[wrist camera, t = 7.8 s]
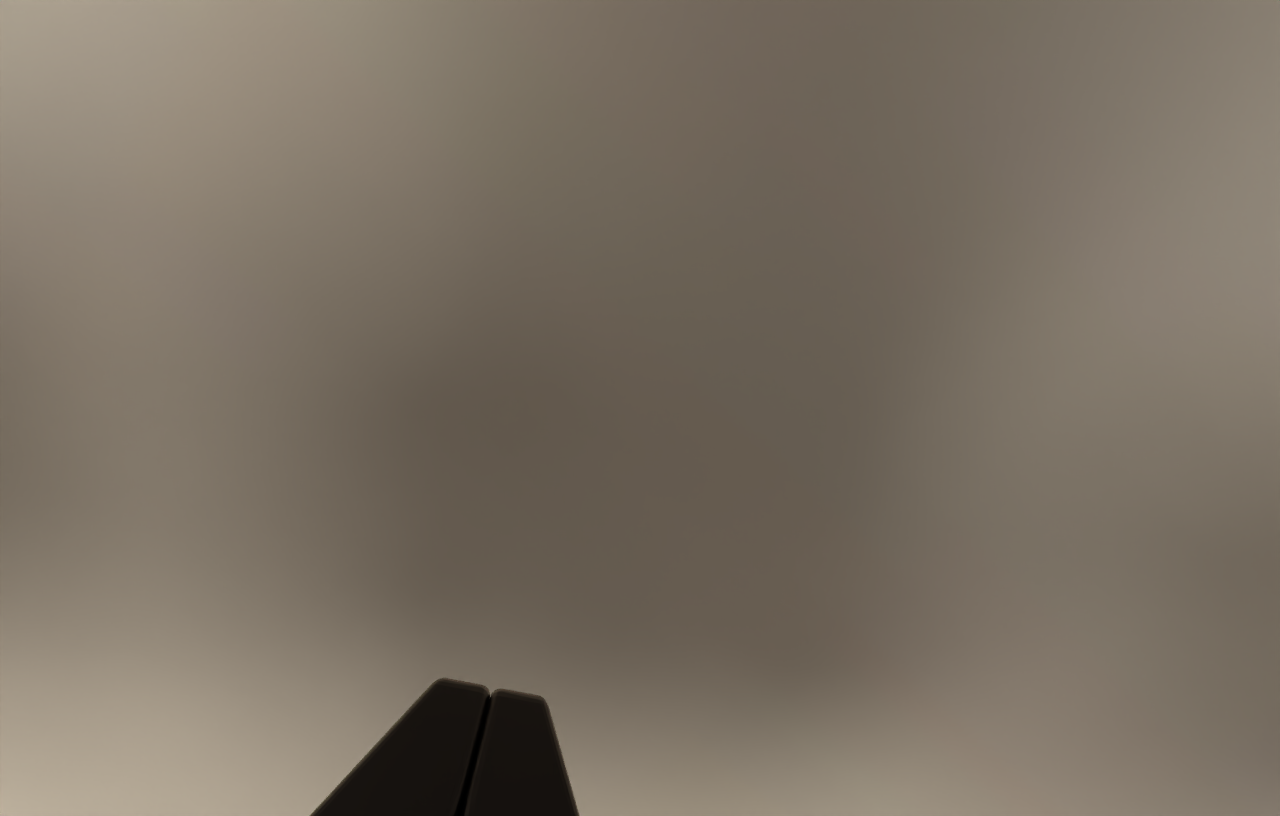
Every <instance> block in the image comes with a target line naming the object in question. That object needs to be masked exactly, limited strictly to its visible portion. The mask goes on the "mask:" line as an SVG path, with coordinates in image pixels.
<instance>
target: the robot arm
mask: <svg viewBox="0 0 1280 816" xmlns="http://www.w3.org/2000/svg"><path fill="white" fill-rule="evenodd" d="M310 816H579V813H578V809H577V805H576V802H575V798H574V795H573V791H572V788H571V784H570V781H569V777H568V774H567V770H566V767H565V763H564V760H563V756H562V752H561V749H560V745H559V742H558V738H557V735H556V731H555V728H554V724H553V721H552V717H551V714H550V710H549V707H548V705H547V703H546V701H545V699H543V698H542V697H541V696H538V695H533V694H527V693H522V692H517V691H512V690H506V689H497V690H495V691H494V692H493V693H492V695H491V697H490V692H489V690H488V688H487V687H486V686H483V685H480V684H474V683H469V682H464V681H458V680H453V679H448V678H442V679H439V680H437V681H435V682H434V683H433V684H432V685H431V686H430V687H429V688H428V689H427V690H426V691H425V692H424V693H423V694H422V695H421V696H420V697H419V698H418V699H417V701H416V702H415V703H414V704H413V705H412V706H411V707H410V708H409V709H408V710H407V711H406V712H405V713H404V715H403V716H402V717H401V718H400V719H399V720H398V721H397V722H396V723H395V724H394V725H393V726H392V728H391V729H390V730H389V731H388V732H387V733H386V734H385V735H384V736H383V737H382V738H381V739H380V740H379V742H378V743H377V744H376V745H375V746H374V747H373V748H372V749H371V750H370V751H369V752H368V753H367V755H366V756H365V757H364V758H363V759H362V760H361V761H360V762H359V763H358V764H357V765H356V766H355V767H354V769H353V770H352V771H351V772H350V773H349V774H348V775H347V776H346V777H345V778H344V779H343V780H342V781H341V783H340V784H339V785H338V786H337V787H336V788H335V789H334V790H333V791H332V792H331V793H330V794H329V796H328V797H327V798H326V799H325V800H324V801H323V802H322V803H321V804H320V805H319V806H318V807H317V808H316V810H315V811H314V812H313V813H312V814H311V815H310Z"/></svg>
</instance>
